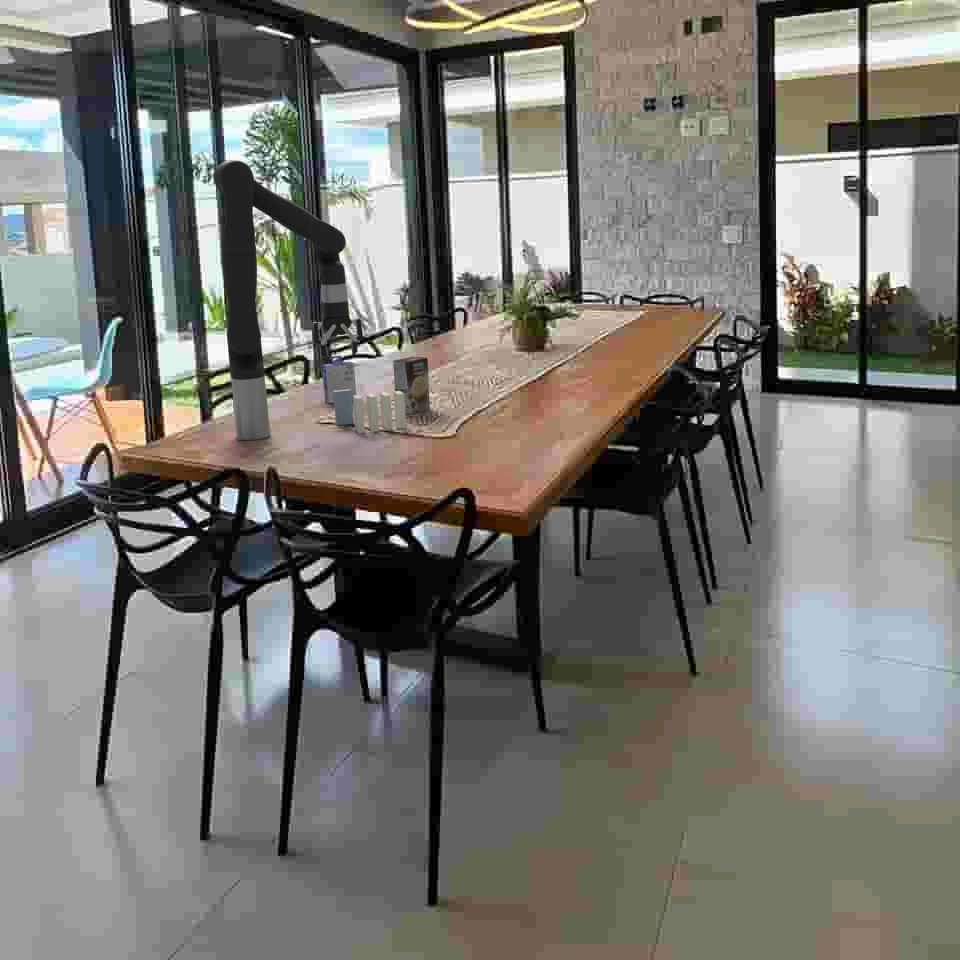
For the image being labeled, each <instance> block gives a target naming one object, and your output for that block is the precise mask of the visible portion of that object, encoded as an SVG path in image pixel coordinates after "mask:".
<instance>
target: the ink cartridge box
mask: <svg viewBox="0 0 960 960" xmlns="http://www.w3.org/2000/svg"><path fill="white" fill-rule="evenodd" d="M335 359H336V360H335ZM330 362H331V363H327V364H321V373H322V384H323V393H324V394H323V395H324V401H325V403H328V404H333V403H334V395H333V391H337V390H346V389H350V390H351V393H352V401H353V396H354V395H357V387H356V377H355V374H356V373H355V363H354V362H352V361H343V358H342V356H341V355H333V356H330Z"/></svg>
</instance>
